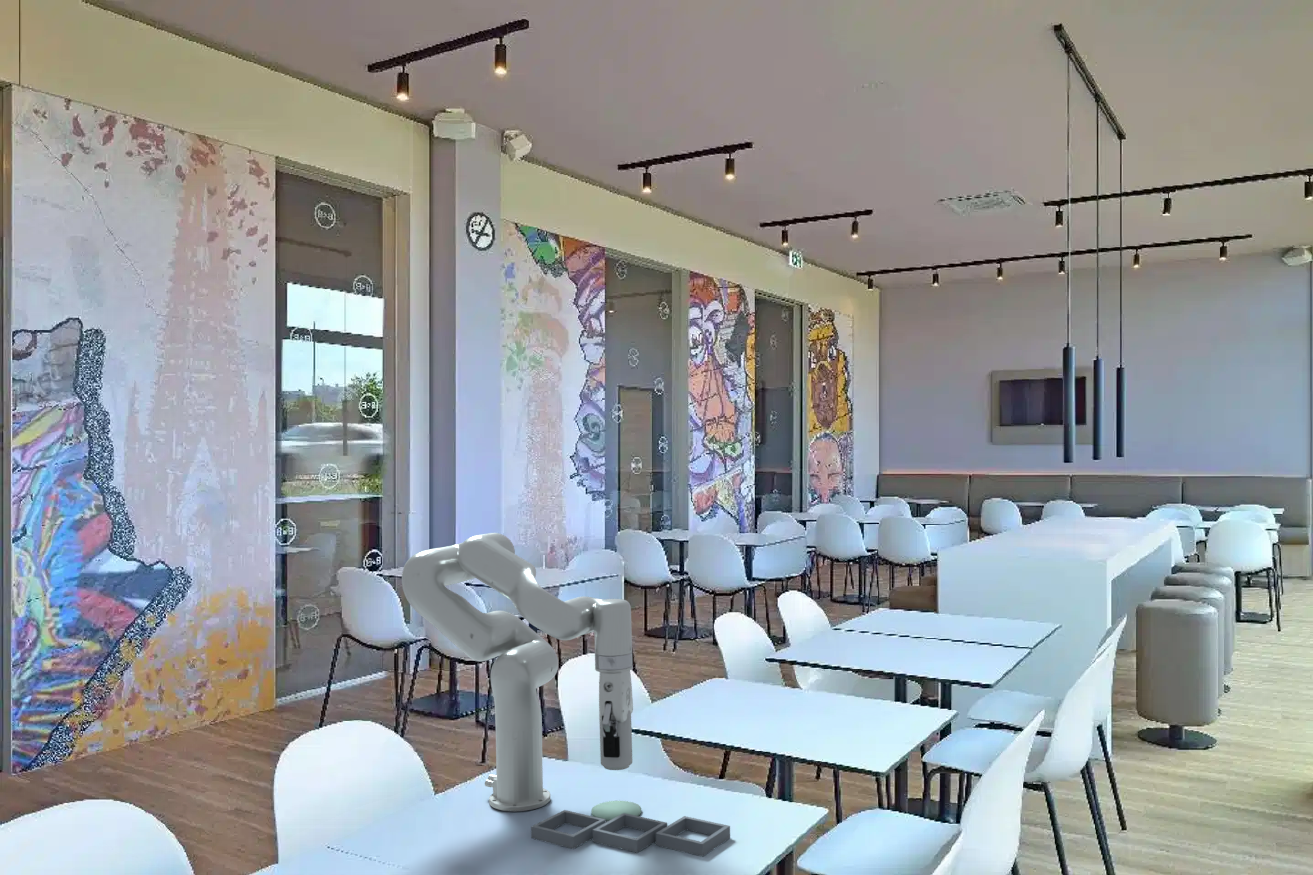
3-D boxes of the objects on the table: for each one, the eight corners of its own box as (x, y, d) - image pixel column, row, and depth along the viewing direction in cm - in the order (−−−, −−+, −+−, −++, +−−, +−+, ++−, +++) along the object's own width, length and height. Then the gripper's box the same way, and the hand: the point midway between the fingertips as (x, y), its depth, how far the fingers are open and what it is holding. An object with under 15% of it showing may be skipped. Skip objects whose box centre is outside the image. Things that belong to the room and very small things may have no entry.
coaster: (581, 815, 197) (581, 812, 197) (610, 800, 205) (610, 797, 205) (622, 825, 191) (622, 821, 191) (651, 809, 200) (650, 806, 200)
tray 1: (531, 838, 186) (531, 826, 186) (564, 821, 194) (564, 809, 194) (573, 848, 180) (573, 836, 180) (605, 830, 189) (605, 819, 189)
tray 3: (655, 845, 181) (655, 833, 181) (684, 827, 190) (684, 815, 190) (702, 856, 176) (702, 843, 176) (730, 837, 184) (730, 825, 184)
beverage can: (628, 772, 195) (626, 710, 195) (596, 770, 196) (595, 709, 196) (635, 762, 201) (634, 702, 201) (605, 761, 202) (603, 701, 202)
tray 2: (592, 841, 183) (592, 829, 183) (623, 824, 192) (623, 812, 192) (637, 852, 178) (637, 840, 178) (667, 834, 186) (667, 822, 186)
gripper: (622, 671, 190) (624, 765, 189) (641, 653, 207) (643, 739, 206) (584, 670, 191) (586, 764, 191) (606, 652, 208) (608, 738, 208)
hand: (616, 750), depth 198 cm, fingers closed on beverage can, 6 cm apart
